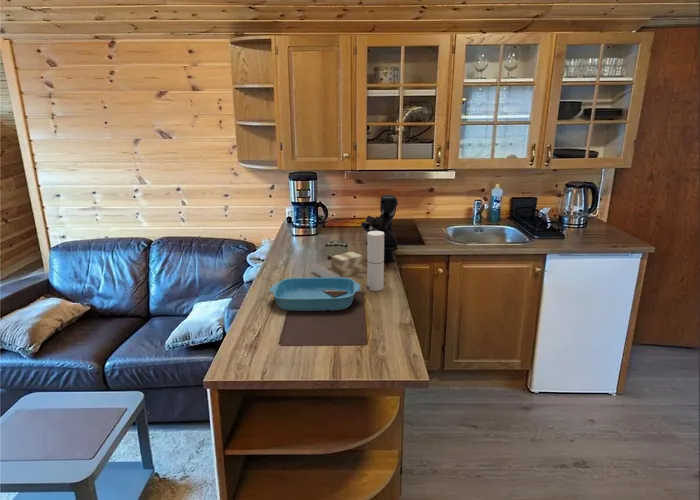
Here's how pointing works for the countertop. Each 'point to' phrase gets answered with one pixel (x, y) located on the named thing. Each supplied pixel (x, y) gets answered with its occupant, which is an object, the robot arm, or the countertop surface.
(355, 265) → the maple block
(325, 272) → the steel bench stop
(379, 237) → the cylindrical container
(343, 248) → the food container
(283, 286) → the casserole dish
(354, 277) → the walnut board
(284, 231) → the countertop surface
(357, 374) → the countertop surface
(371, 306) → the countertop surface
